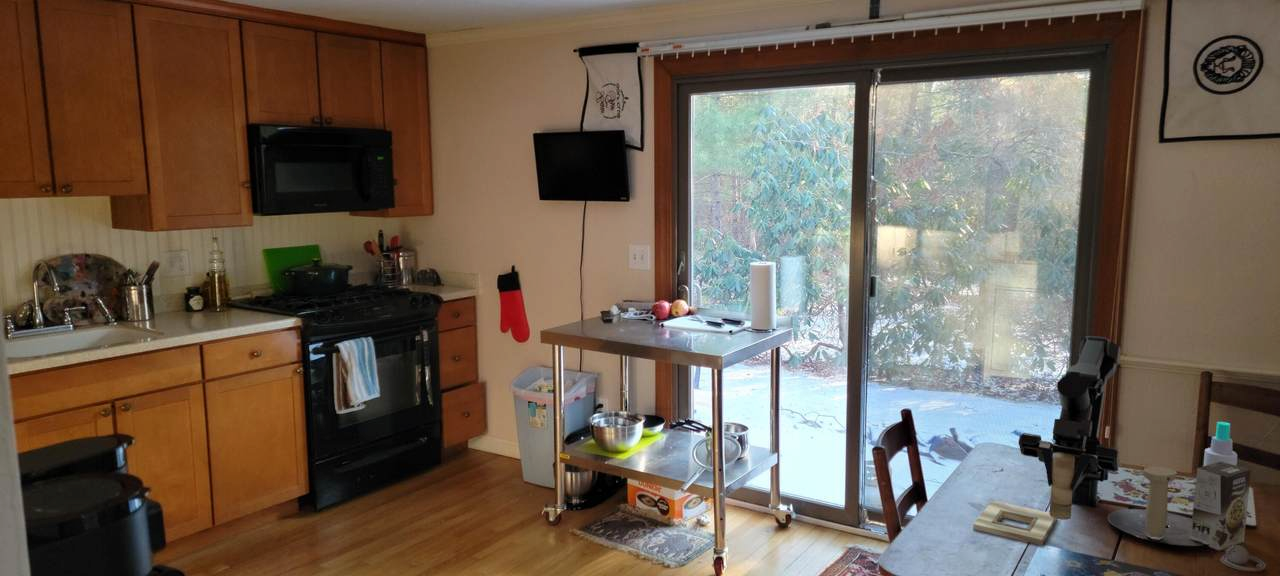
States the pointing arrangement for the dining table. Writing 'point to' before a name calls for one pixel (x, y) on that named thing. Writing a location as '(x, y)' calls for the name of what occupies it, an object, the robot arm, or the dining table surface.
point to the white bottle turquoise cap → (1221, 447)
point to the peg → (1062, 486)
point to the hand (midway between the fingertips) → (1060, 487)
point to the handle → (1157, 499)
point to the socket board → (1036, 518)
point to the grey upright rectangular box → (1220, 504)
